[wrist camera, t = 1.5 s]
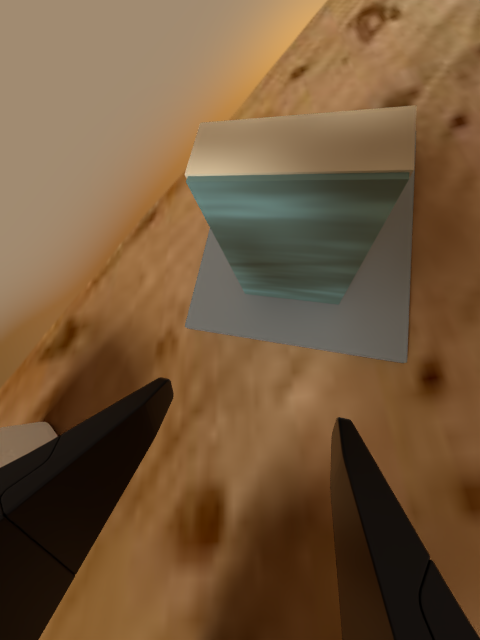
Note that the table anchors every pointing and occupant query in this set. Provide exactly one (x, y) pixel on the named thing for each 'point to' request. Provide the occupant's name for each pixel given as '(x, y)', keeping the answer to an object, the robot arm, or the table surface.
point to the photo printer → (23, 440)
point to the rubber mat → (314, 317)
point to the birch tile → (301, 194)
